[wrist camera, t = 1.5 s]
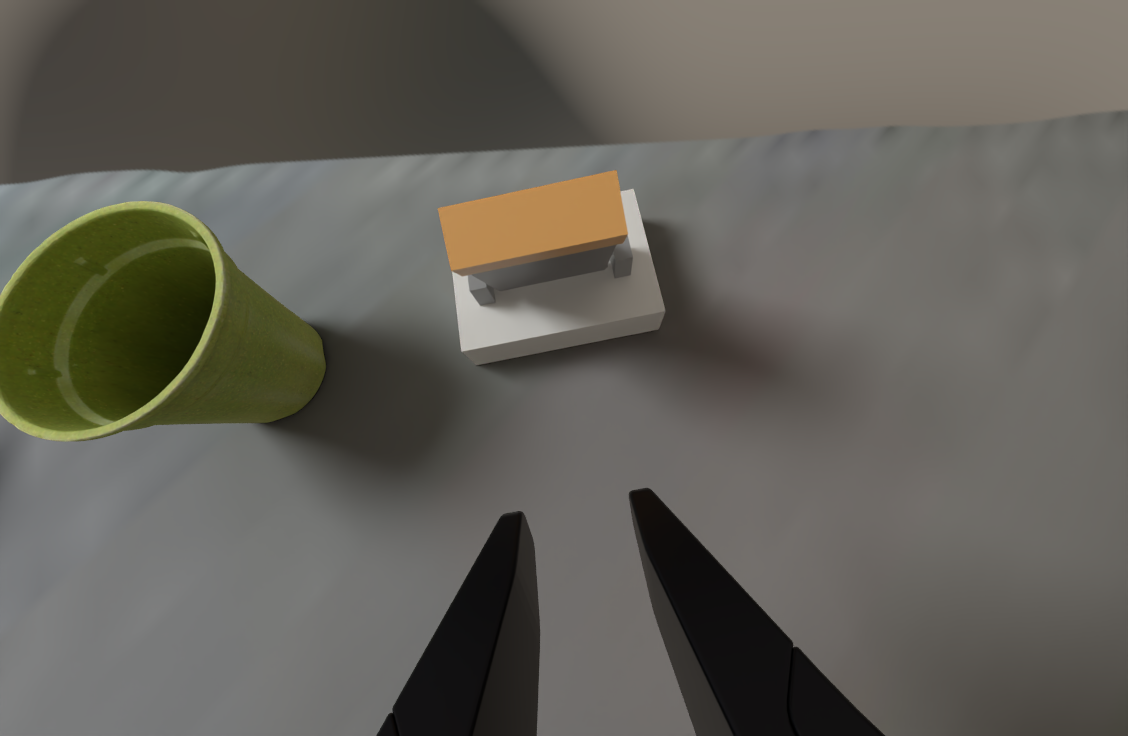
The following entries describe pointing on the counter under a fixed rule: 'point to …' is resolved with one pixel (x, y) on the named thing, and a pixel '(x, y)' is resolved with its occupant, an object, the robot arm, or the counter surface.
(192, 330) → the plant pot
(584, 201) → the rocker lever
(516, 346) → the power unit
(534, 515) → the counter surface
